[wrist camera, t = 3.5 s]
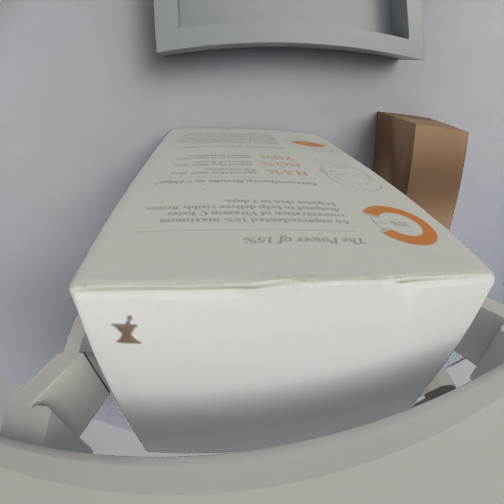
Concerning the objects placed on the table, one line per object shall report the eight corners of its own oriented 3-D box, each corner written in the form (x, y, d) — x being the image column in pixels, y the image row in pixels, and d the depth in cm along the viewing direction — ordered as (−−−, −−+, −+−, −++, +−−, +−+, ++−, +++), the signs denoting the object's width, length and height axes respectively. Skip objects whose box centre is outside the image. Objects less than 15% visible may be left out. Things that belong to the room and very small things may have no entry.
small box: (172, 234, 18) (140, 455, 7) (168, 127, 15) (53, 282, 4) (305, 234, 19) (399, 427, 8) (320, 133, 16) (505, 270, 5)
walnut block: (376, 111, 16) (416, 123, 12) (427, 117, 16) (468, 132, 13) (367, 203, 19) (399, 233, 15) (415, 201, 19) (449, 228, 16)
